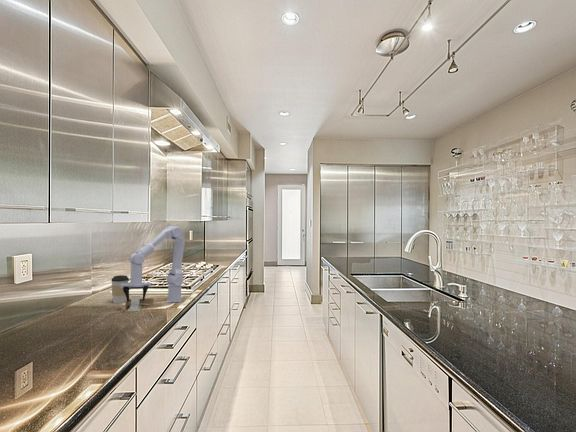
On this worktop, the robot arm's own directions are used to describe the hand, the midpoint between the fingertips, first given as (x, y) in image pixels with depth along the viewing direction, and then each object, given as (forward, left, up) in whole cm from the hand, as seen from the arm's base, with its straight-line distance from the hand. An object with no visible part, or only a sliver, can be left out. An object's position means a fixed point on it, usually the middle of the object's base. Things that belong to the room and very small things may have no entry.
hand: (135, 300), depth 176 cm
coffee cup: (-15, -11, -4) cm, 19 cm away
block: (+4, 0, -4) cm, 5 cm away
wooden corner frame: (+1, +1, -4) cm, 4 cm away
